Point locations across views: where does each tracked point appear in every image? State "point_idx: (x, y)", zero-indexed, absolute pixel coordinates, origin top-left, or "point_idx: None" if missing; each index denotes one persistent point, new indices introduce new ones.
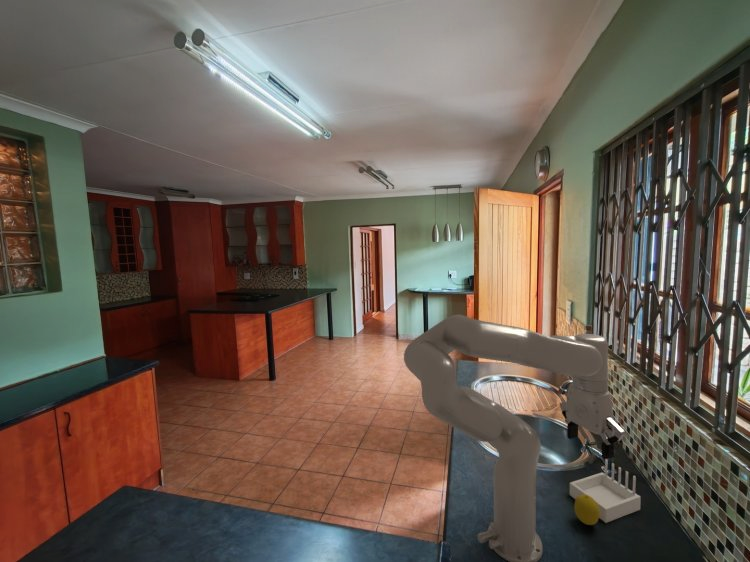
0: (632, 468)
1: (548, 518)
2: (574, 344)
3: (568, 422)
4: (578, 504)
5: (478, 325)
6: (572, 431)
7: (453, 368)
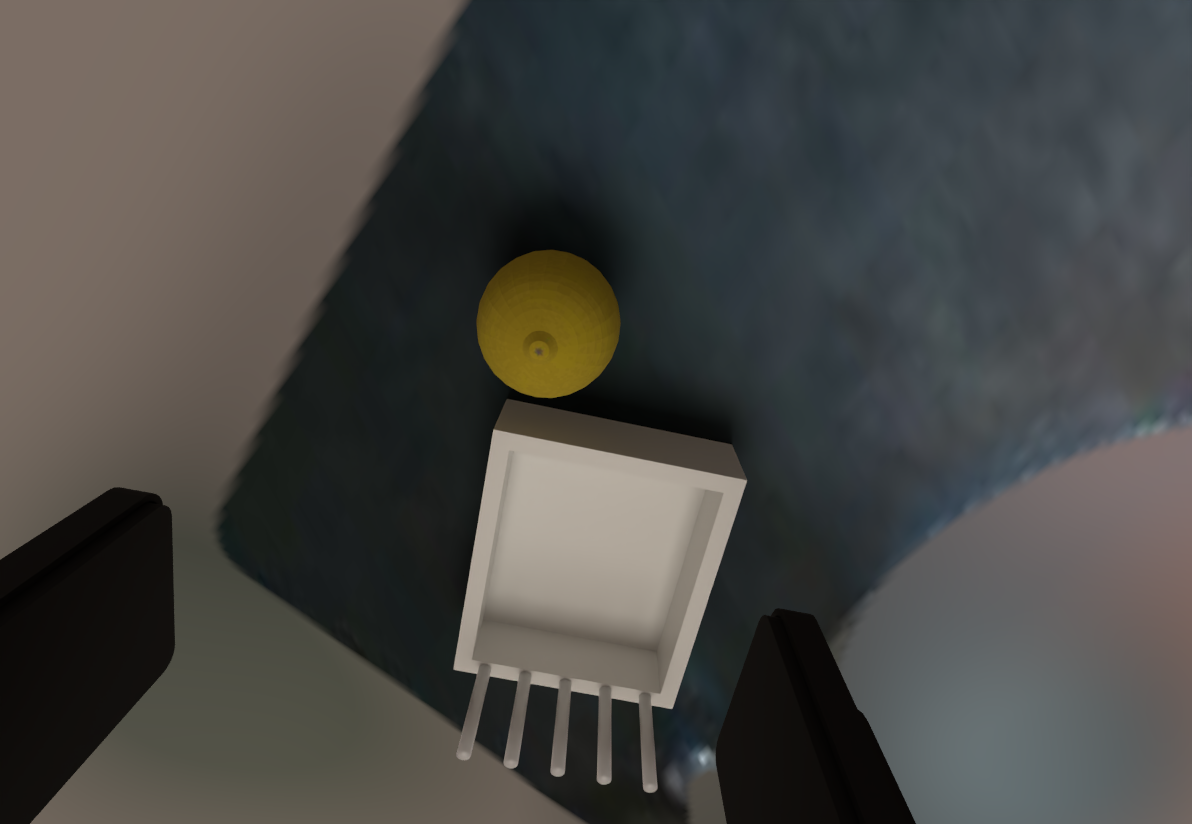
0: None
1: (709, 146)
2: None
3: None
4: (568, 273)
5: None
6: (776, 756)
7: None
